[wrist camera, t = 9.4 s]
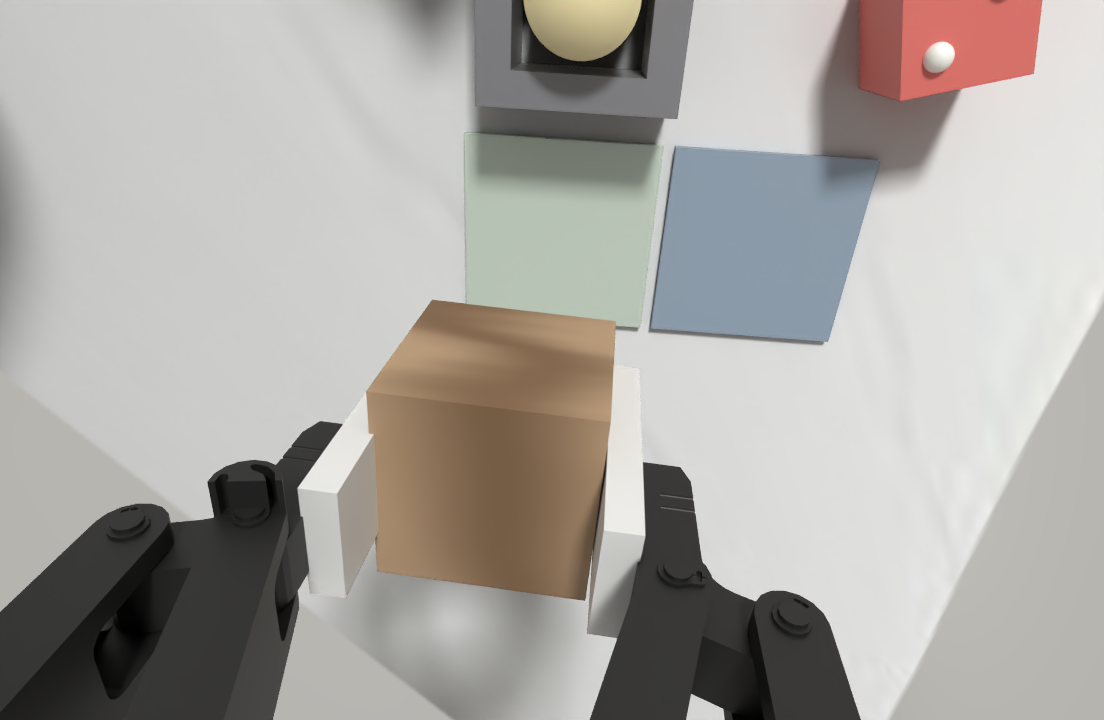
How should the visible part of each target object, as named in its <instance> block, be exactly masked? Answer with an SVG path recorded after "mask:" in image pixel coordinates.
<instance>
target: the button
mask: <svg viewBox="0 0 1104 720" xmlns="http://www.w3.org/2000/svg"><path fill="white" fill-rule="evenodd" d="M641 1H642V0H524V7H525V12H526V16H527V19H528V22H529V24H530V27H531V29H532V30H533V32H534V34H535V35H536V37H537V38H538V40H539V41H540V42H541V43H542V44H543V45H544V46H545V47H546V48H547V49H549V50H550V51H551V52H553V53H554V54H556V55H558V56H560V57H562V58H565V59H569V60H574V61H589V60H594V59H598V58H601V57H603V56H605V55H607V54H609V53H610V52H612V51H614V50H615V49H616V48H617V47H618V46H620V45H621V44H622V43H623V41H624V40H625V39H626V38H627V37H628V35H629V34H630V32H631V31H632V29H633V27H634V25H635V23H636V21H637V18H638V15H639V12H640V8H641Z"/></svg>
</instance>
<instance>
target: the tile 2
mask: <svg viewBox="0 0 1104 720" xmlns="http://www.w3.org/2000/svg"><path fill="white" fill-rule="evenodd" d="M879 163H880V161H879V160H877V159H862V158H847V157H832V156H817V155H802V154H787V153H772V152H757V151H742V150H727V149H712V148H697V147H681V146H675V153H674V160H673V167H672V175H671V182H670V189H669V196H668V204H667V211H666V218H665V225H664V232H663V240H662V247H661V254H660V261H659V269H658V276H657V283H656V290H655V297H654V305H653V312H652V319H651V328H652V329H665V330H678V331H692V332H705V333H718V334H731V335H744V336H758V337H771V338H784V339H797V340H810V341H824V342H828V340H829V337H830V333H831V330H832V326H833V323H834V319H835V316H836V312H837V309H838V306H839V302H840V299H841V295H842V292H843V288H844V285H845V281H846V278H847V274H848V271H849V267H850V264H851V260H852V257H853V253H854V250H855V246H856V243H857V239H858V236H859V232H860V229H861V225H862V222H863V218H864V215H865V212H866V208H867V205H868V201H869V198H870V194H871V191H872V187H873V184H874V180H875V177H876V173H877V170H878V166H879Z"/></svg>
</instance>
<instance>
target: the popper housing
mask: <svg viewBox="0 0 1104 720" xmlns="http://www.w3.org/2000/svg"><path fill="white" fill-rule="evenodd" d="M693 1H694V0H649V1H648V10H647V19H646V29H645V38H644V47H643V56H642V66H641V70H629V69H613V68H598V67H582V66H566V65H550V64H534V63H521V61H522V24H523V0H475V106H483V107H499V108H514V109H529V110H545V111H560V112H576V113H591V114H606V115H622V116H637V117H652V118H668V119H677V118H678V110H679V103H680V96H681V89H682V81H683V74H684V67H685V59H686V52H687V45H688V38H689V30H690V23H691V16H692V8H693Z"/></svg>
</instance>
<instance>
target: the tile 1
mask: <svg viewBox="0 0 1104 720" xmlns="http://www.w3.org/2000/svg"><path fill="white" fill-rule="evenodd" d="M663 148H664V146H663V145H651V144H636V143H621V142H606V141H591V140H576V139H561V138H546V137H531V136H516V135H501V134H486V133H471V132H465V133H464V158H465V242H466V304H472V305H481V306H490V307H498V308H507V309H515V310H524V311H533V312H541V313H550V314H559V315H567V316H576V317H584V318H593V319H602V320H610V321H616V326H626V327H639V328H640V324H641V317H642V309H643V301H644V294H645V286H646V278H647V270H648V263H649V255H650V247H651V240H652V232H653V224H654V217H655V209H656V201H657V194H658V186H659V178H660V171H661V163H662V155H663Z"/></svg>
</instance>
